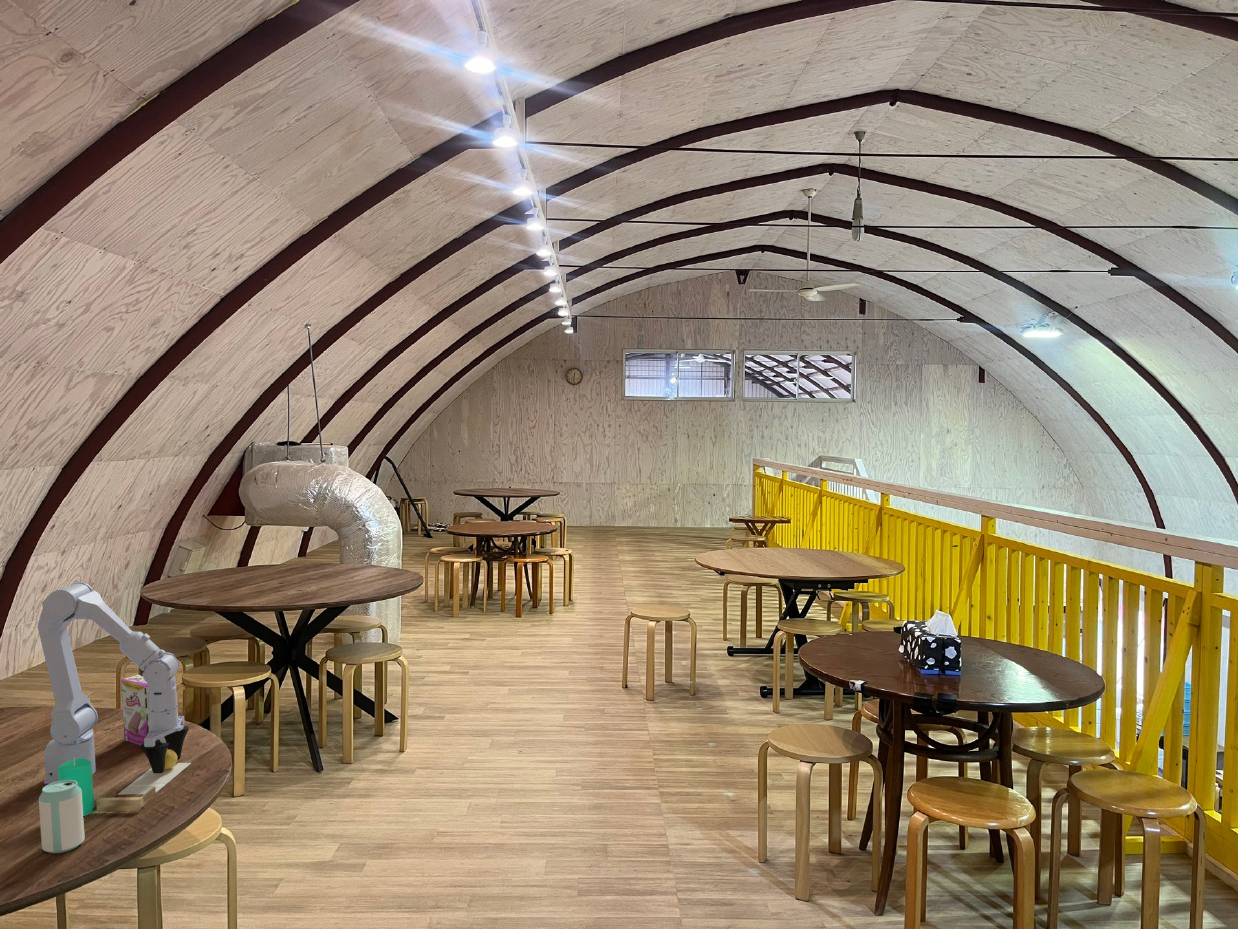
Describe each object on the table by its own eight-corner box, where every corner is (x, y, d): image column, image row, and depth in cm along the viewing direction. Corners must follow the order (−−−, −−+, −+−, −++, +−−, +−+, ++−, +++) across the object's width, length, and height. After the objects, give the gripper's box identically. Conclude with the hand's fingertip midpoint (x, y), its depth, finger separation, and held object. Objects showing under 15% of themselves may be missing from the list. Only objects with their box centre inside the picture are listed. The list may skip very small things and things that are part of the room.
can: (50, 840, 181) (46, 780, 180) (89, 835, 182) (86, 776, 181) (36, 857, 174) (32, 795, 173) (77, 852, 175) (73, 791, 175)
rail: (97, 812, 193) (96, 800, 193) (113, 799, 199) (112, 787, 199) (140, 811, 193) (140, 799, 193) (156, 798, 199) (155, 787, 199)
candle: (70, 822, 189) (66, 764, 188) (55, 815, 192) (51, 759, 191) (100, 810, 194) (96, 754, 193) (84, 804, 197) (81, 749, 196)
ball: (152, 773, 211) (151, 753, 210) (162, 765, 215) (161, 746, 215) (171, 772, 211) (170, 753, 210) (181, 765, 215) (180, 746, 215)
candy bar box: (123, 743, 232) (119, 679, 231) (142, 737, 236) (138, 673, 235) (148, 751, 226) (144, 685, 225) (168, 745, 230) (164, 680, 229)
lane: (103, 809, 194) (102, 805, 194) (157, 766, 217) (157, 763, 216) (141, 808, 194) (140, 805, 194) (191, 766, 216) (191, 762, 216)
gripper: (165, 718, 205) (168, 778, 206) (195, 697, 219) (198, 753, 220) (133, 719, 205) (136, 779, 206) (166, 698, 219) (169, 754, 220)
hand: (166, 766), depth 213 cm, fingers open, 7 cm apart
